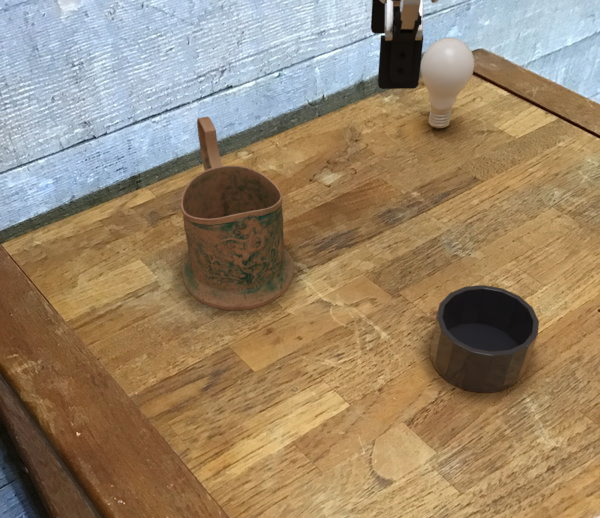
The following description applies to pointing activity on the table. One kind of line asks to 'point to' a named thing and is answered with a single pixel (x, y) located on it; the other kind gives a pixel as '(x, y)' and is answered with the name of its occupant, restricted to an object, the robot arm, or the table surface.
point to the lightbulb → (445, 76)
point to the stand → (483, 338)
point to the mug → (233, 233)
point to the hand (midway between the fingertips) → (393, 58)
